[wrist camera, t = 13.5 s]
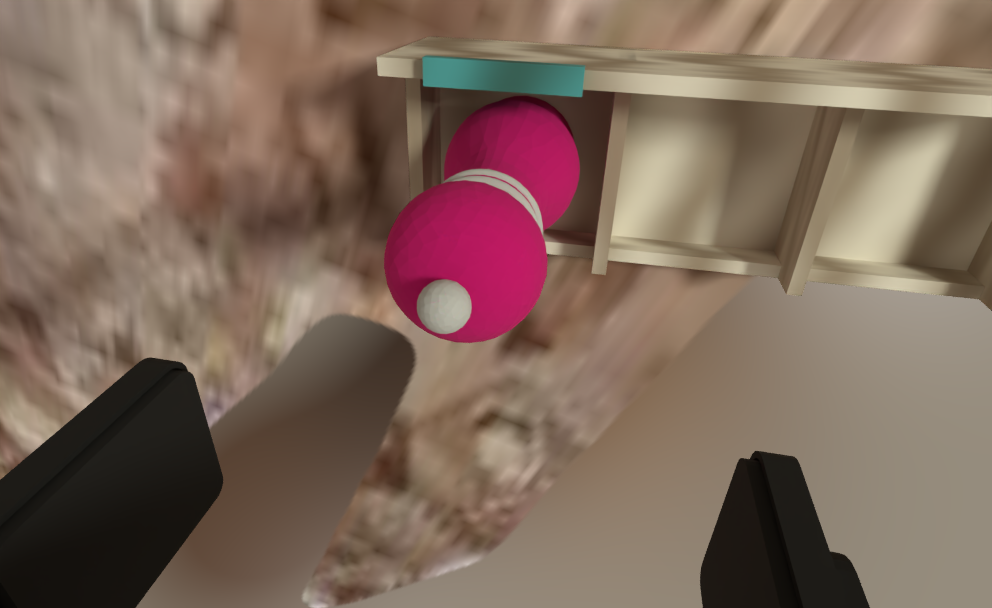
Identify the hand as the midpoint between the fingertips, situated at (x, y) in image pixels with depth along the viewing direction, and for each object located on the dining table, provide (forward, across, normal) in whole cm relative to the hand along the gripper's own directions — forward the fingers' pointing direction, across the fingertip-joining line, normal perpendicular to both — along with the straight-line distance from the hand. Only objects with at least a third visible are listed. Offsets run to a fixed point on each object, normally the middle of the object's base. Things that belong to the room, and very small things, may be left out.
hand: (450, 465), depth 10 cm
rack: (+29, -8, +3) cm, 30 cm away
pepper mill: (+28, +3, +3) cm, 28 cm away
